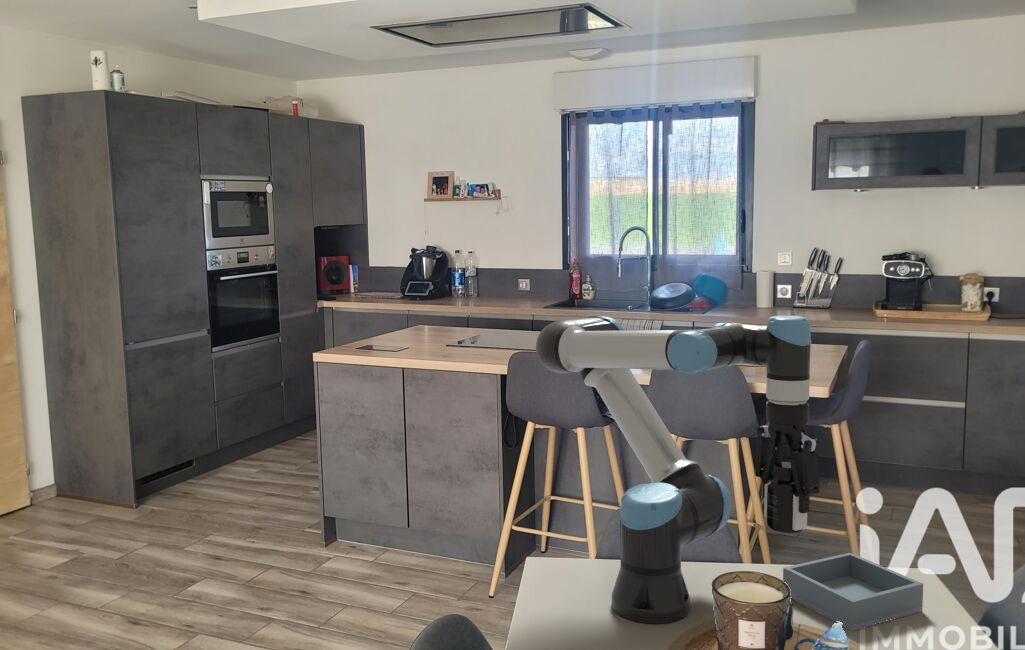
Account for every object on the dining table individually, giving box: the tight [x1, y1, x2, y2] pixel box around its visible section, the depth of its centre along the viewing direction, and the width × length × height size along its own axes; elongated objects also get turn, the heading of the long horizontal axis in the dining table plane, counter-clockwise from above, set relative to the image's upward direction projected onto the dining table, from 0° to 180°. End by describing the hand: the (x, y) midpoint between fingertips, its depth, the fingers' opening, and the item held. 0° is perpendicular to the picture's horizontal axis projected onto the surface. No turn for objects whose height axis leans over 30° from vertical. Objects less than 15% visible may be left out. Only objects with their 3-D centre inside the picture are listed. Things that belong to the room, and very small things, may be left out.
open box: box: [782, 552, 924, 632], centre depth 167 cm, size 18×18×6 cm
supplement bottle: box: [765, 461, 804, 534], centre depth 158 cm, size 7×7×12 cm
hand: (785, 522), depth 159 cm, fingers closed on supplement bottle, 7 cm apart
